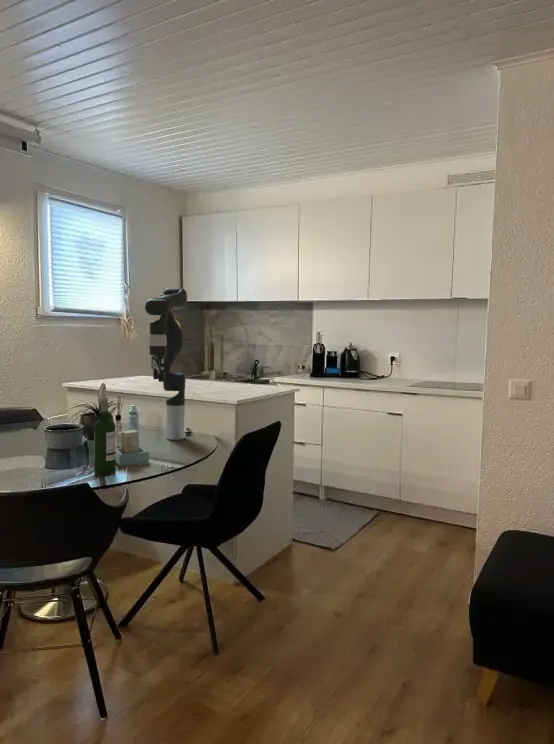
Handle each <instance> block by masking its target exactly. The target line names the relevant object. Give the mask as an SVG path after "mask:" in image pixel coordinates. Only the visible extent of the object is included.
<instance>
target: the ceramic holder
mask: <svg viewBox="0 0 554 744" xmlns="http://www.w3.org/2000/svg"><path fill="white" fill-rule="evenodd" d="M149 454H150V452H149V451H148V449H146V448H144V446H142V445H139V452H135V453H126V454H122V449H121V447H115V463H116V465H117V466H118V468H123V467H133V466H139V465H138V464H142V465H147V464H146V463H150V462H149V461H150V458H149V457H150V455H149ZM132 465H133V466H132Z"/></svg>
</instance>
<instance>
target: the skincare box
mask: <svg viewBox="0 0 554 744" xmlns="http://www.w3.org/2000/svg"><path fill="white" fill-rule="evenodd" d="M120 436H121V437H120V438H121V439H120V443H121V446H120V448H121V449H122V454H126V453H135V452H139V446H140V441H139V440H140V439H139V436H140V435H139V430H135V429H130V430H123V431H121V432H120Z"/></svg>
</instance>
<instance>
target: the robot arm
mask: <svg viewBox="0 0 554 744" xmlns="http://www.w3.org/2000/svg"><path fill="white" fill-rule="evenodd" d="M187 301H188V294H187V292H186V289H185V288H182V287H166V288H164V290H163V295H162V296H159V297H154V298H149V299H148V300H146V302H145V306H144V311H145V312H146V313H147V314H148V315H150V316H160V318H158V319H157V320H152V321H150V323H149V347H148V348H149V350H148V351H149V356H151V357H150V358H151V363H150V364H151V365H150V367H151V369H152V374H153V377H152V378H153V379H154V380H158V382H159V383H162V384H163V385H162V386H163V389H164V391H165V392H178V393H176V394H175V395H173V396H169V397H167V398H166V401H165V409H166V411H165V415H166V416H165V439H166V438H167V439H166V440H169V439H170V441H177V440H179V441H180V440H183V439H185V436H186V435H185V434H186V433H185V432H186V431H185V429H186V427H185V426H186V424H185V423H186V422H185V417H186V415H185V414H186V411H185V410H186V409H185V406H186V403H185V402H186V401H185V399H186V398H185V395H186V392H185V391H186V375H185V373H184V372H171V368H172V366H173V363H174V362H175V360H176V358H177V357H178V356H179V354H180V352H181V351H182V349H183V345H184V332H183V331H182V328H181V327H180V326H179V324H178V322H177V320H176V319H175V316H174V315H173V313H174V312H173V310H172V309H173V308H176V307H177V308H178V307H184V306H185V305H186V304H187Z"/></svg>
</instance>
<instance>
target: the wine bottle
mask: <svg viewBox="0 0 554 744" xmlns="http://www.w3.org/2000/svg"><path fill="white" fill-rule="evenodd" d="M109 416H110V415H109V397H108V396H101V397H100V417H99V419H98V420H97V421H96V422H95V423H94V425H93V435H94V436H93V441H94V444H93V449H94V452H93V453H94V456H93V457H94V459H93V460H94V461H93V462H94V465H93V466H94V475H95V476H99V477H100V476H101V477H105V476H112V475H115V474H116V471H117V470H116V468H117V467H116V465H117V464H116V463H115V448H116V425H115V422H114V421H113V420H112V419H110V417H109Z"/></svg>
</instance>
